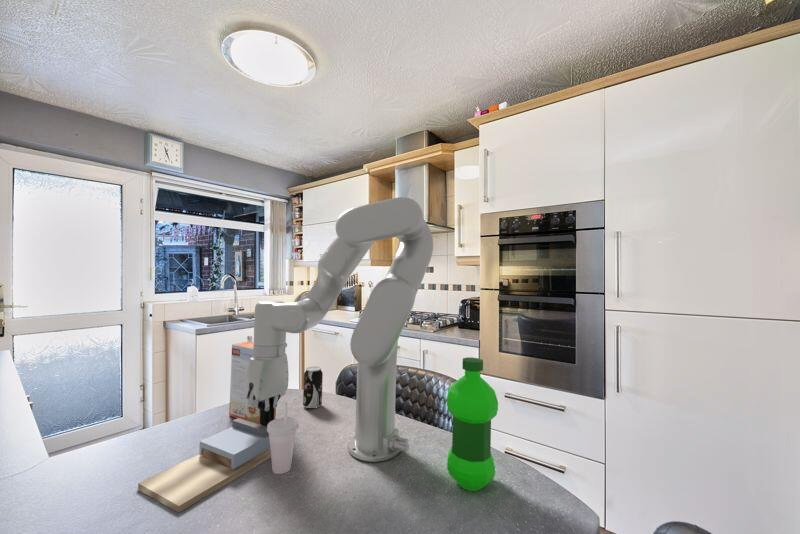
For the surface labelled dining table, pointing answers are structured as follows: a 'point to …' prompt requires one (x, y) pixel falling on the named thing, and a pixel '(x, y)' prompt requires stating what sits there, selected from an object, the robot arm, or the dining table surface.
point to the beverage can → (312, 387)
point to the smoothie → (282, 442)
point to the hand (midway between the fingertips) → (266, 424)
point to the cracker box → (242, 384)
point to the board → (195, 479)
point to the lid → (238, 442)
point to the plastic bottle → (471, 427)
